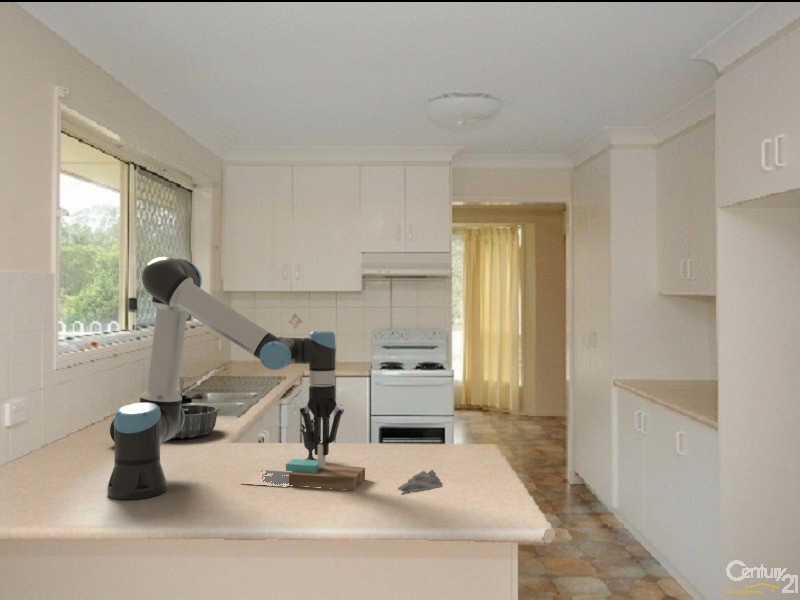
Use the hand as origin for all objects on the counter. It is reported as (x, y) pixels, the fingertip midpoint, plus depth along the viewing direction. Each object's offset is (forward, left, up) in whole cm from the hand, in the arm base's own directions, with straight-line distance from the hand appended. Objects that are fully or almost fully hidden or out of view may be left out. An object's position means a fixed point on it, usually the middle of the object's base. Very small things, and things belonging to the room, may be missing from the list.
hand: (321, 466), depth 196 cm
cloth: (+6, -28, -6) cm, 29 cm away
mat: (0, +15, -5) cm, 15 cm away
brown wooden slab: (0, -2, -5) cm, 5 cm away
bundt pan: (+49, +73, -5) cm, 88 cm away
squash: (+29, +81, -5) cm, 86 cm away
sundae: (+23, +12, -5) cm, 26 cm away
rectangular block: (0, +5, -1) cm, 5 cm away
